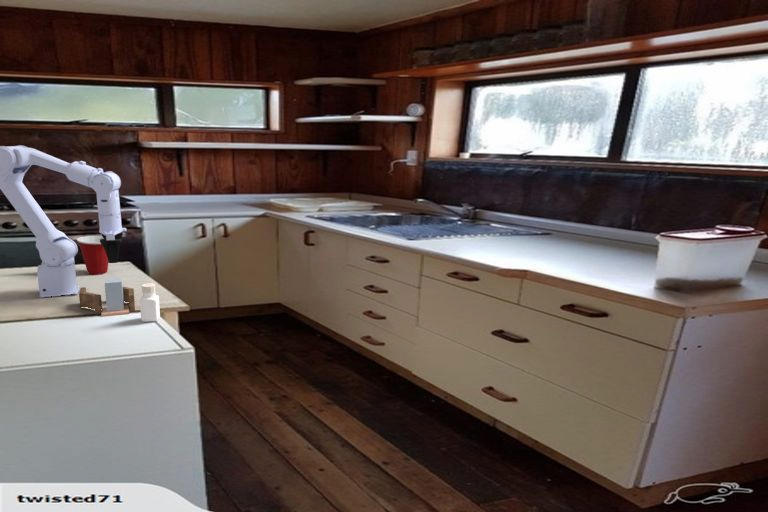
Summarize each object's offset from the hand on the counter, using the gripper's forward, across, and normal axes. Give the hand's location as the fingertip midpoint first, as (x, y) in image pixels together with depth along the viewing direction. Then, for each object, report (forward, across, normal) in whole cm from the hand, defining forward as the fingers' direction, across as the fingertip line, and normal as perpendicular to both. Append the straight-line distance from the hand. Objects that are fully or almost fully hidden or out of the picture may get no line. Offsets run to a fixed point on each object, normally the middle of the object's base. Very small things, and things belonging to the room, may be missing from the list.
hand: (113, 259), depth 152 cm
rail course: (+10, -12, +2) cm, 16 cm away
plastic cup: (+10, +26, +6) cm, 29 cm away
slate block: (+10, -17, 0) cm, 20 cm away
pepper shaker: (+11, -27, -9) cm, 30 cm away
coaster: (+10, -17, 0) cm, 20 cm away
